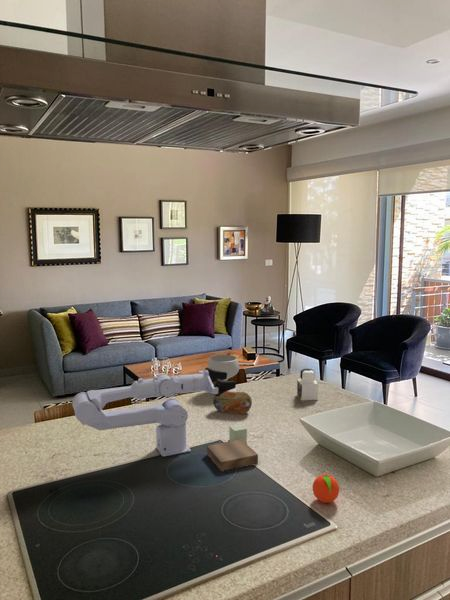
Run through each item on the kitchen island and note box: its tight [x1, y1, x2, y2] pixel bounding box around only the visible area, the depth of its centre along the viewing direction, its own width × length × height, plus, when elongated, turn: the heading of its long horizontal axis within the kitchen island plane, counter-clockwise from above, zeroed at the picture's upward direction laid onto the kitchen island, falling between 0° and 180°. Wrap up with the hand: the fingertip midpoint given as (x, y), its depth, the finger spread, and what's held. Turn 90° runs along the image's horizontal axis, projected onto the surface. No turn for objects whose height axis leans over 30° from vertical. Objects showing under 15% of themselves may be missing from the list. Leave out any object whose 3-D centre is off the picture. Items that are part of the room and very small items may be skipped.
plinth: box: [206, 439, 259, 472], centre depth 154 cm, size 12×12×3 cm
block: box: [228, 423, 248, 444], centre depth 167 cm, size 4×4×5 cm
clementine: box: [312, 473, 340, 504], centre depth 130 cm, size 8×7×7 cm
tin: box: [212, 390, 253, 415], centre depth 193 cm, size 15×3×8 cm, turn 75°
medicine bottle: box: [296, 368, 319, 402], centre depth 208 cm, size 7×7×12 cm
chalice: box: [206, 354, 240, 391], centre depth 217 cm, size 14×14×15 cm
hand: (230, 380), depth 166 cm, fingers open, 7 cm apart
